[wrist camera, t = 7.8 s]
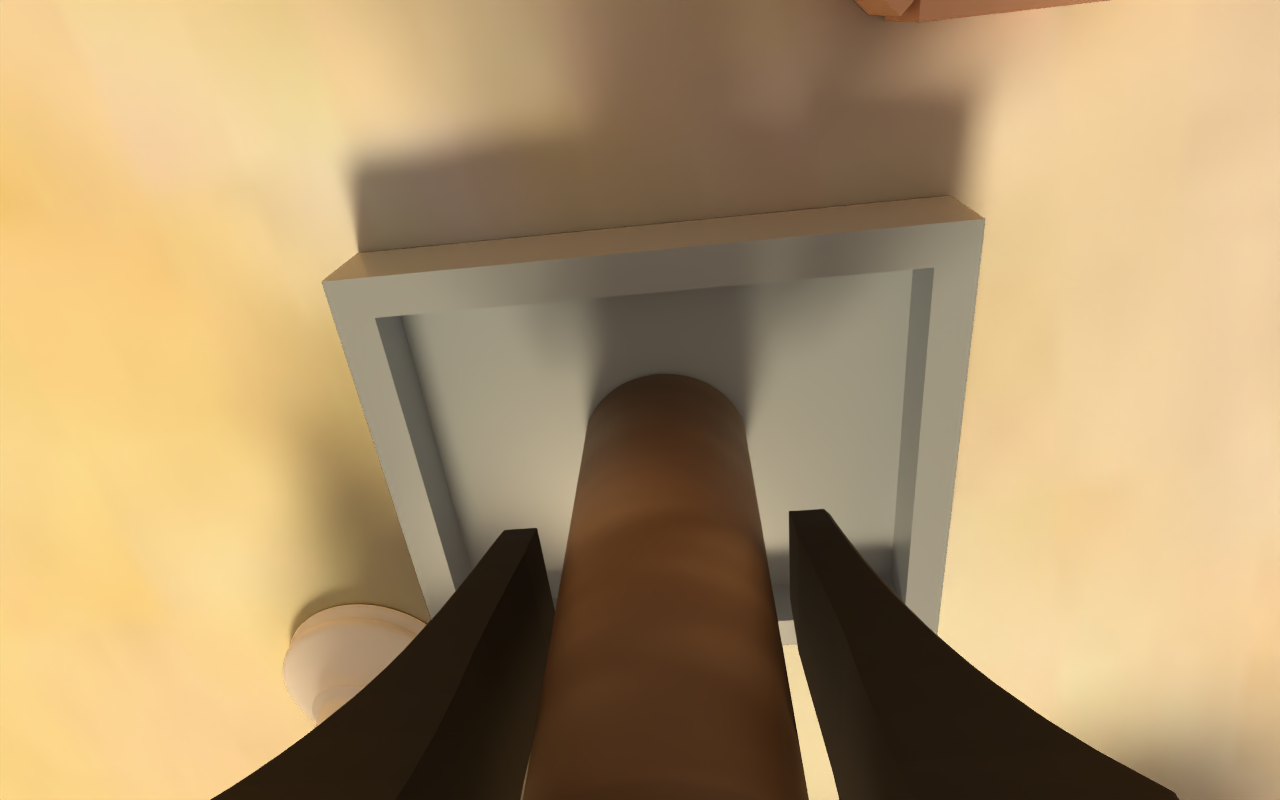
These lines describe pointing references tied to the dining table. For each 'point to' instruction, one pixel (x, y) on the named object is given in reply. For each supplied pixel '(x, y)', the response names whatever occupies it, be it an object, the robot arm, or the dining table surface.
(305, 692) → the chess piece
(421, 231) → the dining table surface
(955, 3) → the ring holder
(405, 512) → the tray
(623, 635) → the dowel
